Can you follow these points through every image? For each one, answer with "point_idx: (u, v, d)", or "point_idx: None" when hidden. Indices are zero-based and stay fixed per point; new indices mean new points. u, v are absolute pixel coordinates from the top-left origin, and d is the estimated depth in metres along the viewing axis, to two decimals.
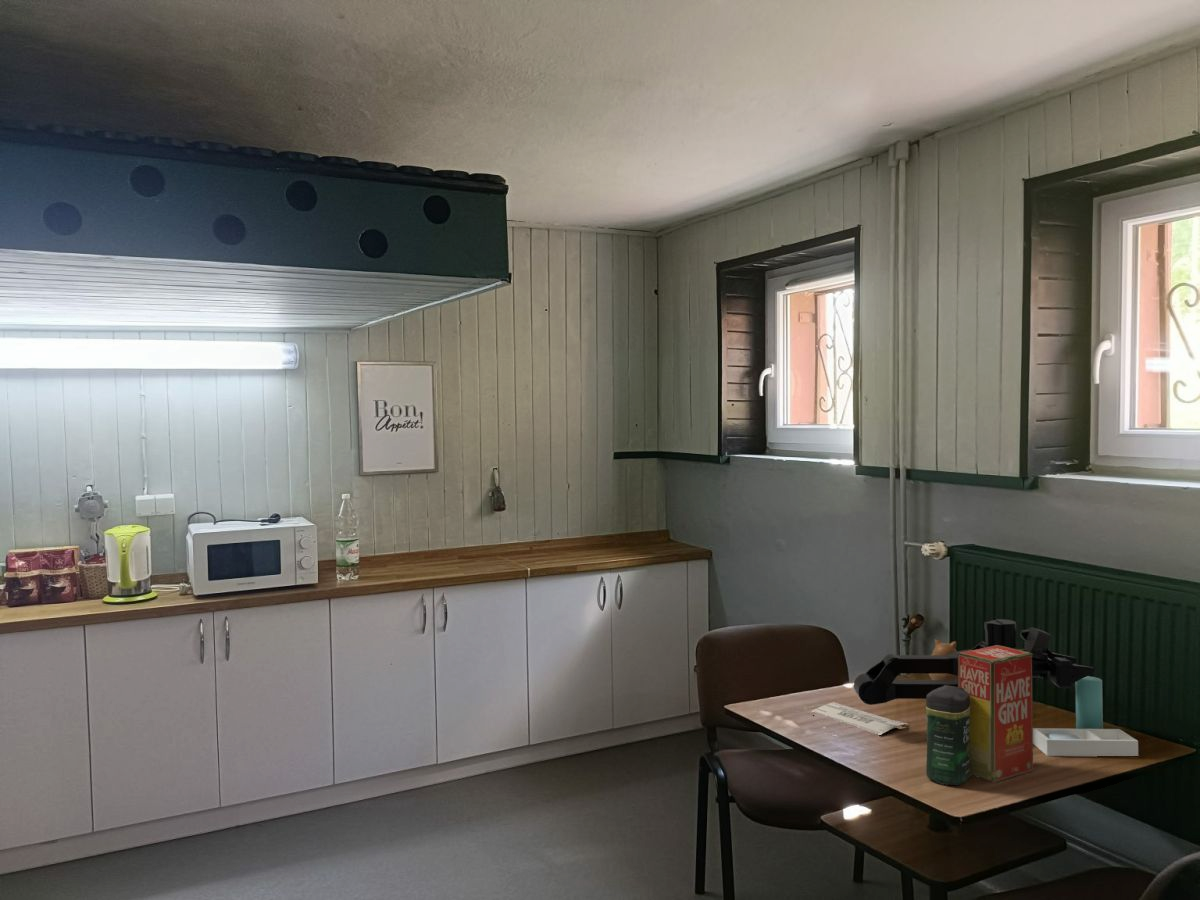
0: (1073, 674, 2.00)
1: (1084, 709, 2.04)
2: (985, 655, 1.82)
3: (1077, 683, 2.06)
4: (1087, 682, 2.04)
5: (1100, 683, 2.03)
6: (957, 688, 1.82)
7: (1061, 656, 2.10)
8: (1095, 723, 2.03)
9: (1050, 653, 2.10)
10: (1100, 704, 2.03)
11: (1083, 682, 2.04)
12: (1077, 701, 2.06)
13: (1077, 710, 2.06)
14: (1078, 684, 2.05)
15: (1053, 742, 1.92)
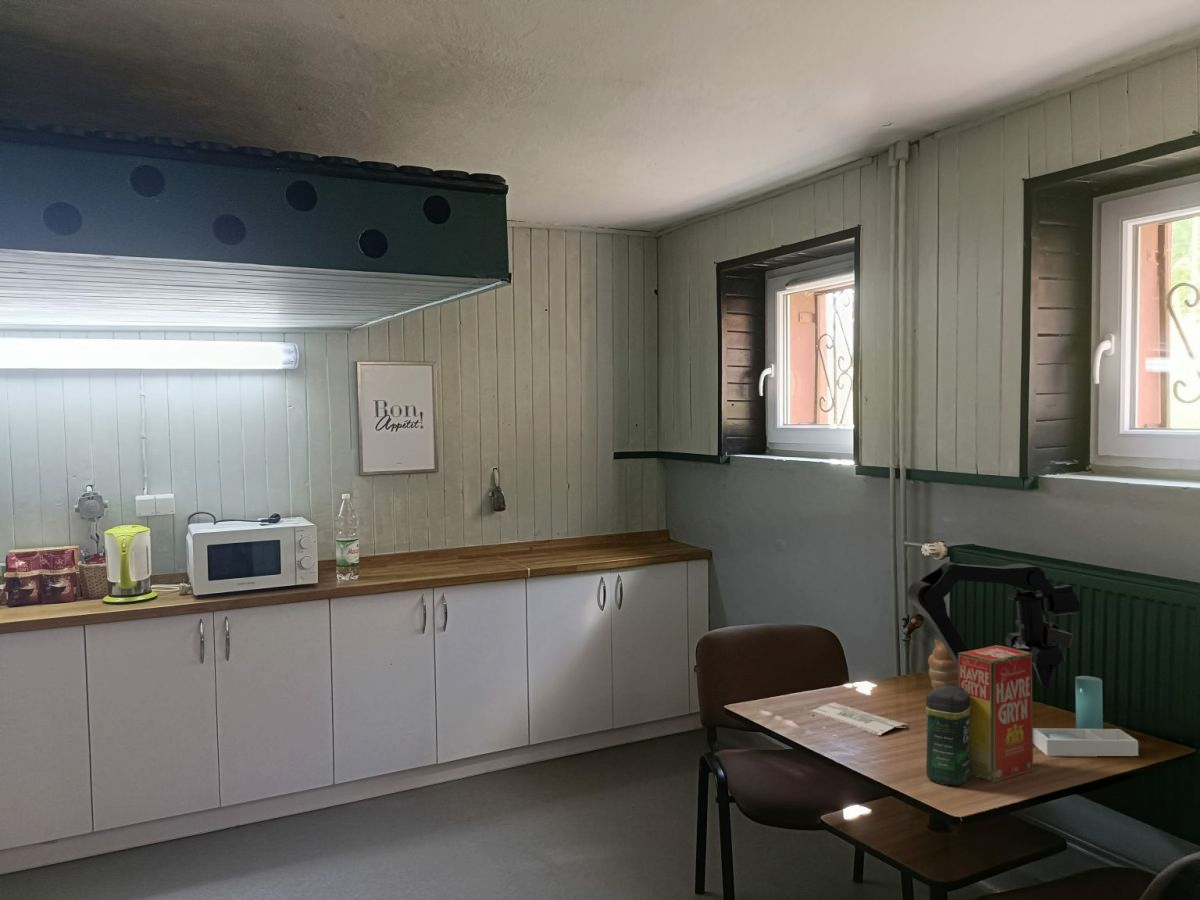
0: (1043, 668, 2.02)
1: (1084, 709, 2.04)
2: (985, 655, 1.82)
3: (1077, 683, 2.06)
4: (1087, 682, 2.04)
5: (1100, 683, 2.03)
6: (957, 688, 1.82)
7: None
8: (1094, 723, 2.03)
9: None
10: (1100, 704, 2.03)
11: (1083, 682, 2.04)
12: (1077, 701, 2.06)
13: (1077, 710, 2.06)
14: (1078, 684, 2.05)
15: (1053, 742, 1.92)
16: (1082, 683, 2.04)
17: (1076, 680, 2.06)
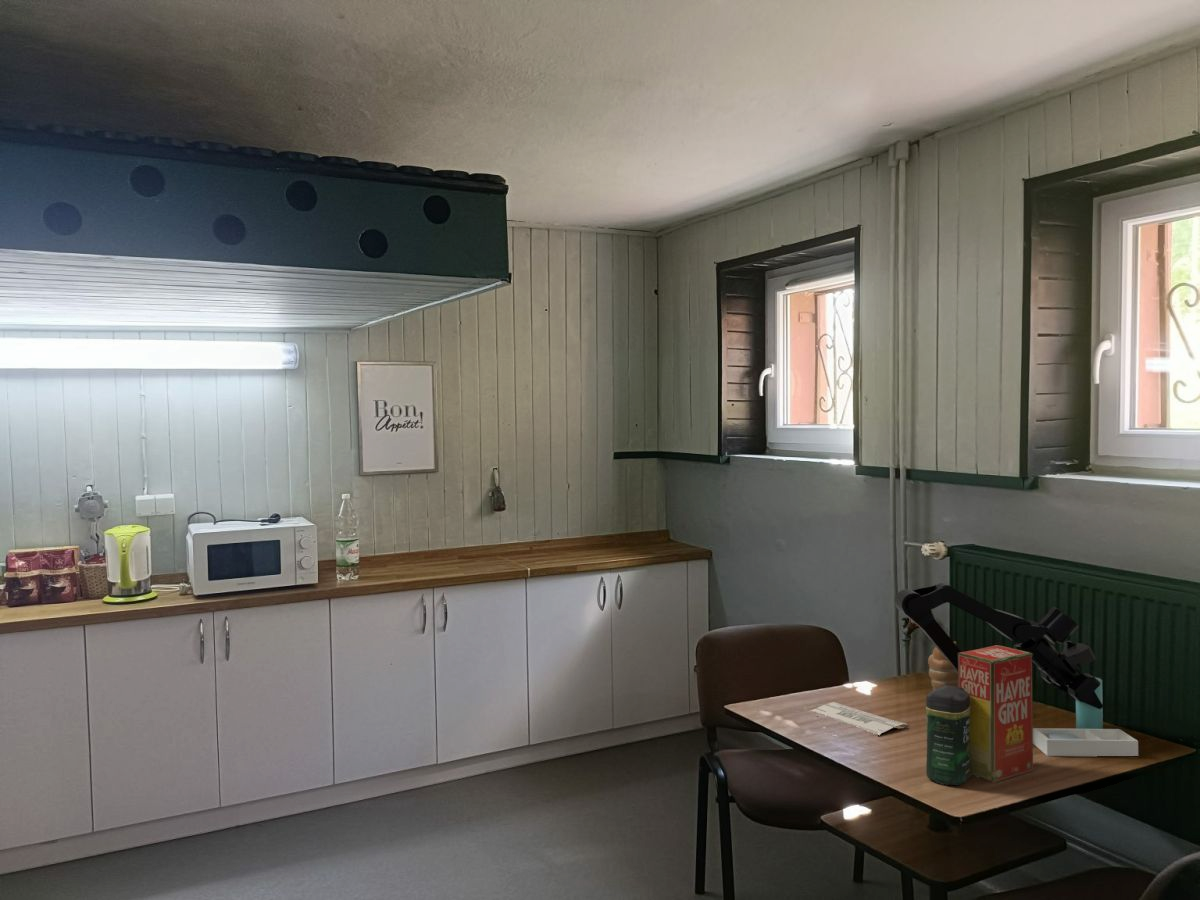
0: None
1: (1084, 709, 2.04)
2: (985, 655, 1.82)
3: None
4: None
5: (1100, 683, 2.03)
6: (957, 688, 1.82)
7: None
8: (1095, 723, 2.03)
9: None
10: None
11: None
12: (1077, 701, 2.06)
13: (1077, 710, 2.06)
14: None
15: (1053, 742, 1.92)
16: None
17: None
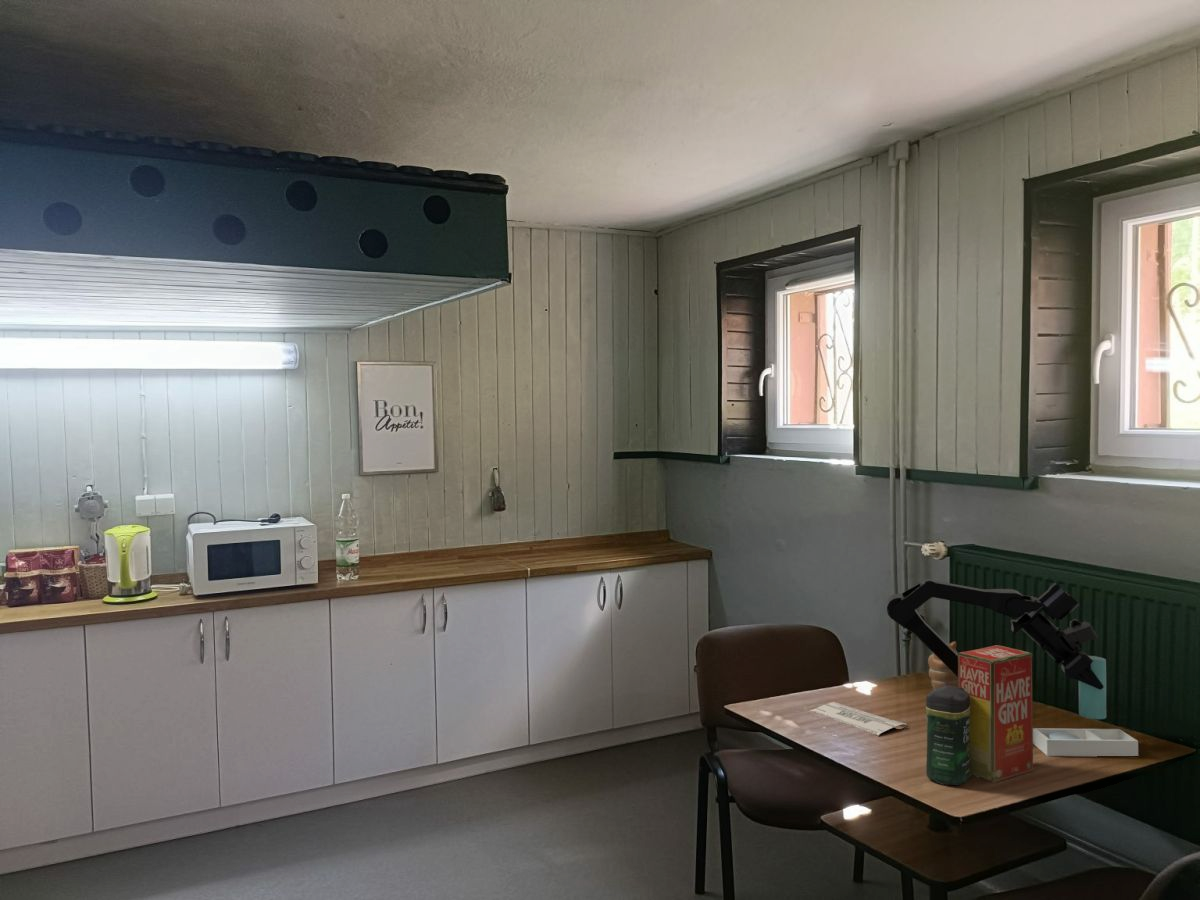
0: (1082, 674, 1.97)
1: (1085, 689, 1.99)
2: (985, 655, 1.82)
3: None
4: None
5: (1102, 663, 1.97)
6: (957, 688, 1.82)
7: None
8: (1095, 703, 1.97)
9: None
10: None
11: None
12: None
13: (1079, 690, 2.01)
14: None
15: (1053, 742, 1.92)
16: None
17: None
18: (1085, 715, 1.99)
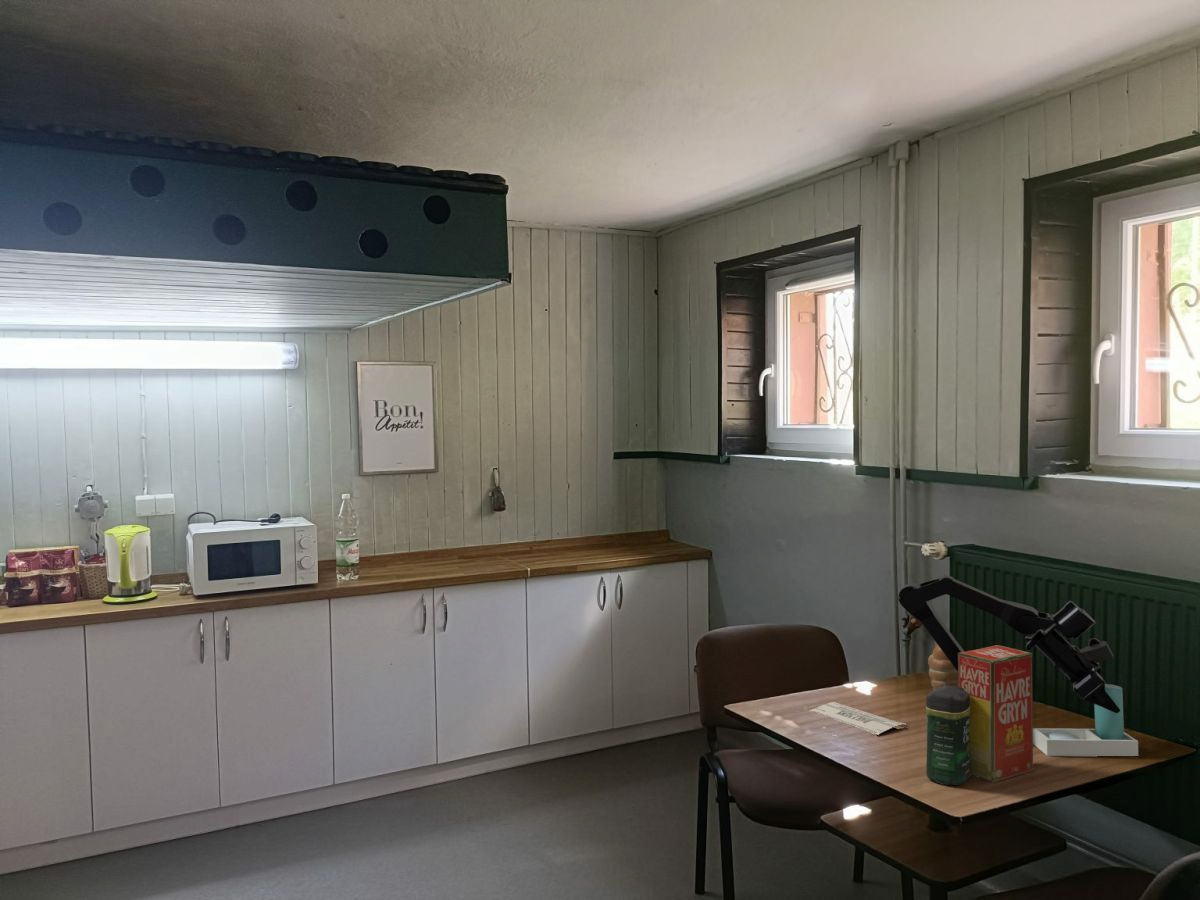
0: (1097, 697, 1.91)
1: (1099, 718, 1.94)
2: (985, 655, 1.82)
3: None
4: None
5: (1117, 692, 1.92)
6: (957, 688, 1.82)
7: None
8: (1110, 733, 1.93)
9: (1099, 676, 2.00)
10: (1117, 714, 1.92)
11: None
12: None
13: (1095, 719, 1.96)
14: None
15: (1053, 742, 1.92)
16: None
17: None
18: None
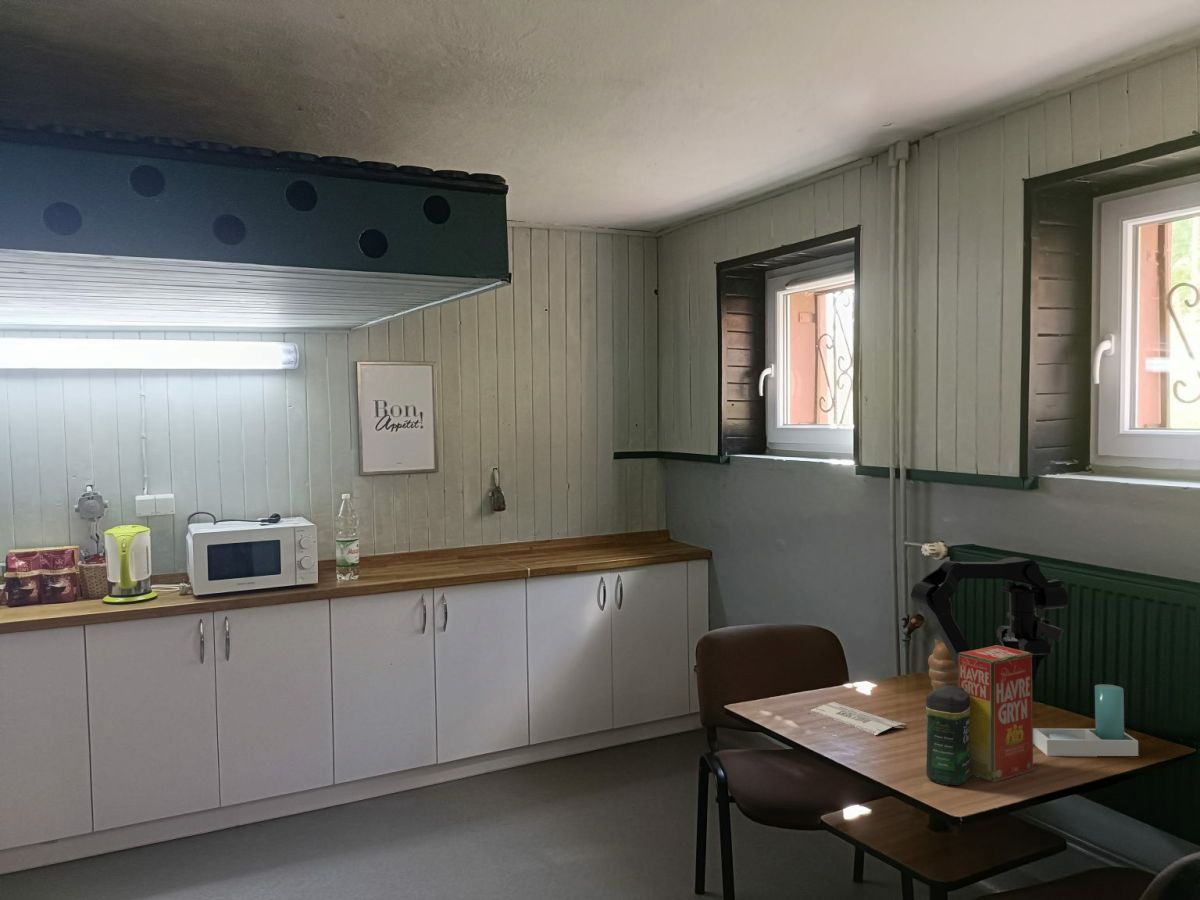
0: None
1: (1100, 719, 1.94)
2: (985, 655, 1.82)
3: (1095, 690, 1.96)
4: (1102, 690, 1.93)
5: (1118, 692, 1.92)
6: (957, 688, 1.82)
7: None
8: (1110, 733, 1.92)
9: None
10: (1118, 715, 1.92)
11: (1099, 690, 1.94)
12: (1095, 709, 1.96)
13: (1095, 719, 1.96)
14: (1095, 692, 1.96)
15: (1053, 742, 1.92)
16: (1098, 691, 1.94)
17: (1095, 687, 1.96)
18: None
